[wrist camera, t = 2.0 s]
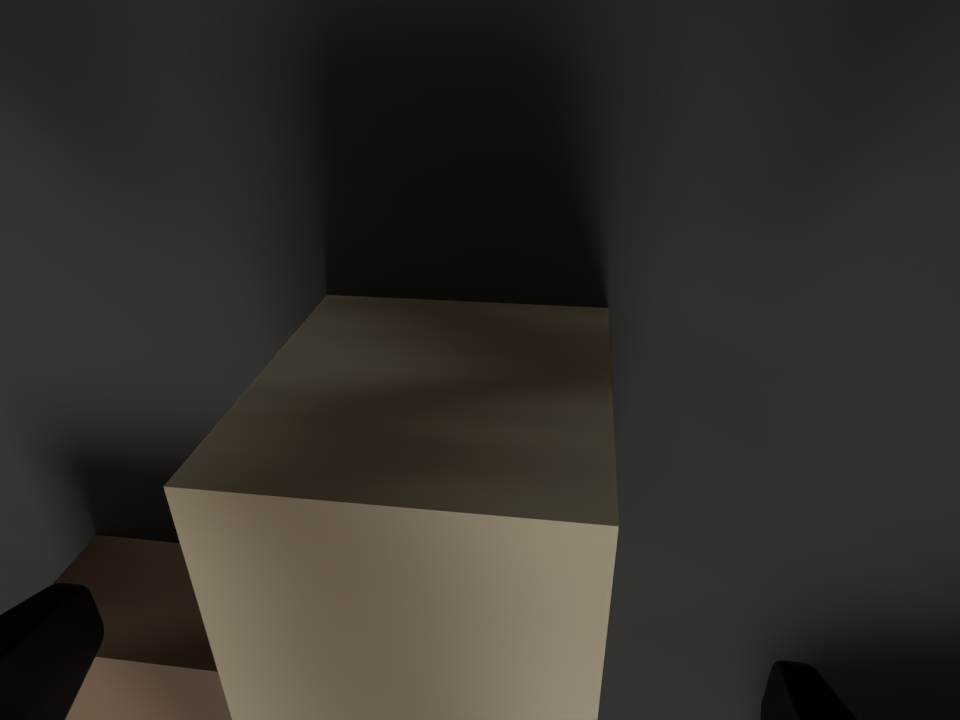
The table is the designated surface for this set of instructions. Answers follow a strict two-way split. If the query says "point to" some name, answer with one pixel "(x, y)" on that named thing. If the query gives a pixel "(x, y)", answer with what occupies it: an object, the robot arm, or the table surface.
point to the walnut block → (145, 636)
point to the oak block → (411, 516)
